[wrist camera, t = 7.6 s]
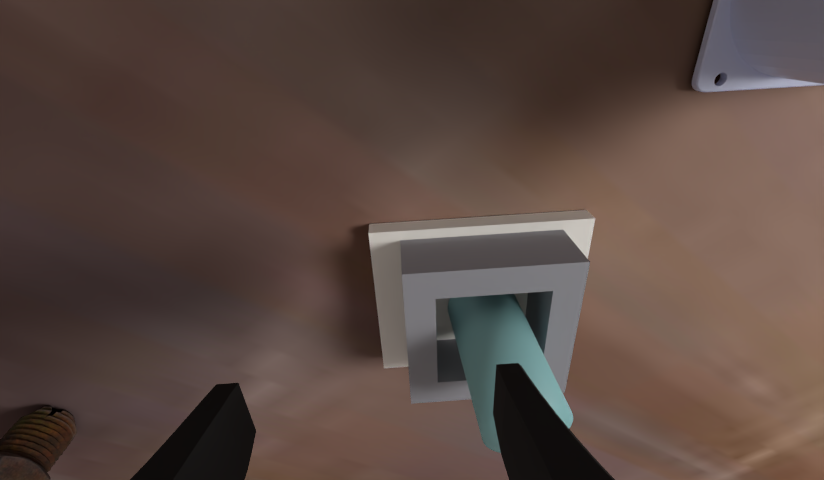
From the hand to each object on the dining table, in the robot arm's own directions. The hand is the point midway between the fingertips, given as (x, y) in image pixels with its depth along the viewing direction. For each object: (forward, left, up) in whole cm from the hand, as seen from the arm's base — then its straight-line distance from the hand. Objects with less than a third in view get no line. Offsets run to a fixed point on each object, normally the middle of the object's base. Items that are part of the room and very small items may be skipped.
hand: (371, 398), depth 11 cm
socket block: (-5, +4, -10) cm, 12 cm away
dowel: (-5, +4, -9) cm, 11 cm away
